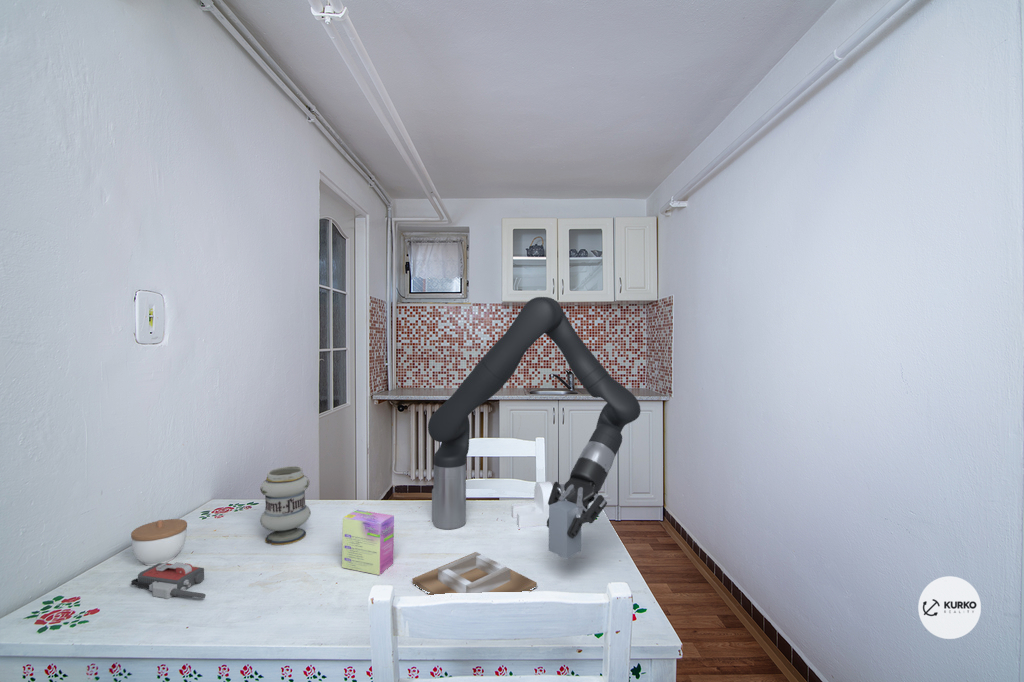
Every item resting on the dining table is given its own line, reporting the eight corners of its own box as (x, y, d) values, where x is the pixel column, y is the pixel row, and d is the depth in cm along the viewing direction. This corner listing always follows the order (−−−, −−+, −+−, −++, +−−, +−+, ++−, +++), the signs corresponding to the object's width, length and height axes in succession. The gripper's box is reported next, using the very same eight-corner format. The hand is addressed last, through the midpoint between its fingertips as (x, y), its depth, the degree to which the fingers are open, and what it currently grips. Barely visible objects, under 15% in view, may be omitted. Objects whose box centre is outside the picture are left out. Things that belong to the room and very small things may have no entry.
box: (394, 564, 110) (394, 514, 110) (379, 576, 104) (380, 523, 104) (357, 557, 113) (357, 509, 113) (341, 568, 108) (341, 517, 108)
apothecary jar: (249, 542, 121) (249, 473, 121) (287, 525, 132) (287, 462, 132) (283, 550, 117) (284, 478, 117) (320, 532, 128) (320, 466, 128)
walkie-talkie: (120, 594, 97) (199, 606, 93) (120, 573, 97) (199, 584, 93) (160, 573, 106) (235, 583, 102) (160, 554, 106) (234, 563, 102)
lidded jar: (182, 545, 119) (182, 509, 119) (191, 559, 112) (191, 520, 112) (128, 559, 112) (128, 520, 112) (134, 575, 104) (134, 533, 104)
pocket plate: (412, 584, 101) (412, 566, 101) (475, 556, 114) (475, 541, 114) (471, 624, 87) (471, 604, 87) (536, 588, 99) (536, 570, 99)
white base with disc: (567, 511, 145) (567, 475, 145) (579, 523, 135) (579, 485, 135) (511, 516, 141) (511, 479, 140) (519, 529, 131) (519, 490, 131)
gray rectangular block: (548, 550, 102) (549, 505, 102) (562, 543, 105) (563, 499, 105) (566, 558, 98) (567, 511, 98) (580, 551, 102) (581, 505, 102)
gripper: (562, 450, 112) (527, 513, 103) (613, 463, 102) (579, 533, 93) (575, 468, 116) (542, 530, 107) (626, 482, 106) (594, 551, 97)
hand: (559, 531), depth 100 cm, fingers closed on gray rectangular block, 5 cm apart
